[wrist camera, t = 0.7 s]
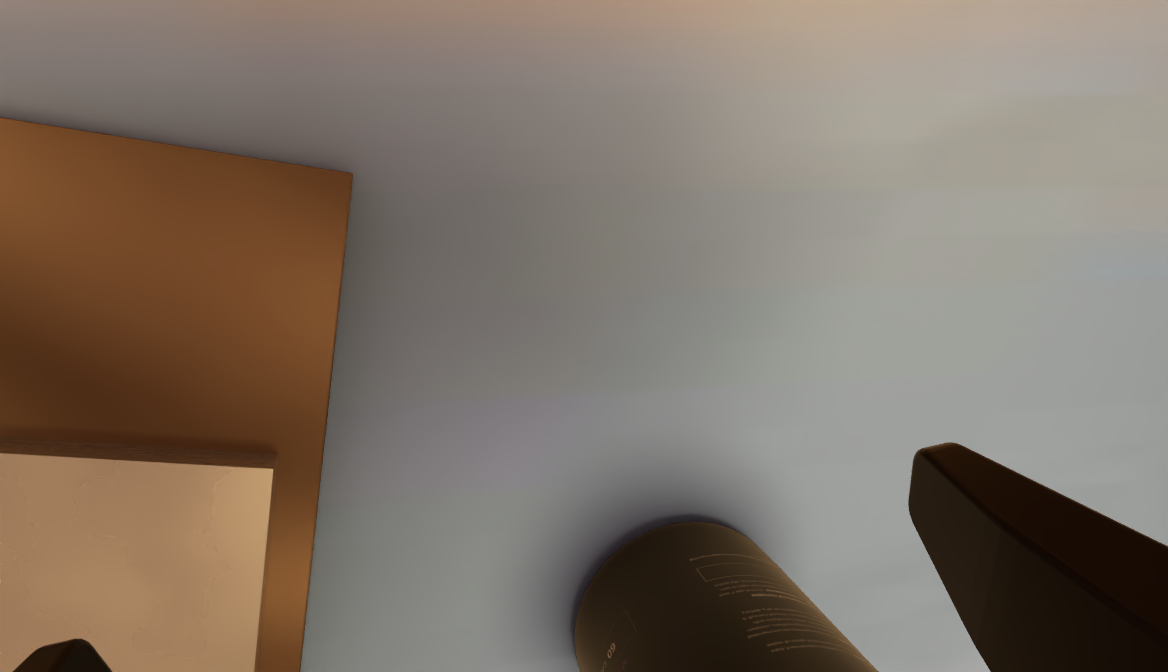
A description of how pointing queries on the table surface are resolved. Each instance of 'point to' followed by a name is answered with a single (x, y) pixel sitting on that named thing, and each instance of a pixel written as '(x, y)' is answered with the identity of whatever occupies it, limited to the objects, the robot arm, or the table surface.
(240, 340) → the board
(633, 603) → the supplement bottle
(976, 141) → the table surface
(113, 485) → the fixed leaf
